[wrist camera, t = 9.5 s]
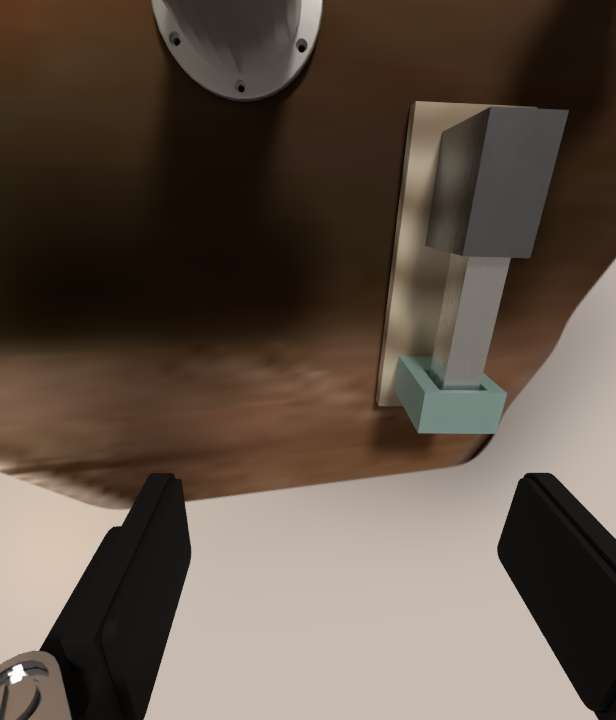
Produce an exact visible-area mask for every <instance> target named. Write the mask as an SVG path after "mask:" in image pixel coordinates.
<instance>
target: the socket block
mask: <svg viewBox="0 0 616 720" xmlns="http://www.w3.org/2000/svg"><path fill="white" fill-rule="evenodd" d="M432 359H433V356H399V360H398V367H397V375H396V382H395V389H394V390H395V392H396V394H397V396H398V398H399V400H400V401H401V403H402V405H403V407H404V409H405V410H406V412H407V414H408V416H409V418H410V420H411V421H412V423H413V425H414V427H415V429H416V431H417V432H418V433H463V434H496V432H497V429H498V425H499V421H500V418H501V414H502V410H503V407H504V403H505V400H506V396H507V393H506V392H505V391H504V390H502V389H501V388H500V387H499V386H498V385H497V384H496V383H494V382H493V381H492V380H491V379H490V378H489V377H487V376H486V375H485V374H484V373H483V375H482V379H481V383H480V388H479V391H475V390H439V389H438V388H437V386H436V385H435V384H434V383H433V381H432V380H431V379H430V378H429V375H430V370H431V364H432Z"/></svg>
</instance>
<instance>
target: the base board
mask: <svg viewBox="0 0 616 720" xmlns="http://www.w3.org/2000/svg"><path fill="white" fill-rule="evenodd" d="M491 106H492V107H513V108H535V109H537V107H525V106H504V105H483V104H462V103H441V102H420V101H416V102H415V103H414V104H412V105H411V106H410V115H409V123H408V131H407V140H406V148H405V157H404V165H403V174H402V182H401V191H400V199H399V208H398V216H397V224H396V233H395V241H394V250H393V258H392V267H391V275H390V284H389V292H388V301H387V309H386V317H385V326H384V334H383V343H382V351H381V360H380V368H379V377H378V385H377V394H376V401H377V403H378V406H403V405H402V403H401V401H400V400H399V398H398V396H397V394H396V392H395V390H394V389H395V382H396V375H397V367H398V360H399V356H433V353H434V347H435V342H436V336H437V331H438V325H439V319H440V314H441V308H442V303H443V297H444V291H445V286H446V280H447V275H448V269H449V263H450V258H451V253H449V252H446V251H442V250H439V249H435V248H432V247H428V246H425V244H426V237H427V230H428V224H429V217H430V210H431V204H432V197H433V191H434V184H435V177H436V171H437V164H438V157H439V151H440V144H441V137H442V132H443V131H445V130H447V129H449V128H451V127H453V126H454V125H456V124H458V123H460V122H462V121H464V120H466V119H468V118H470V117H472V116H474V115H476V114H478V113H479V112H481V111H483V110H485V109H487V108H489V107H491Z"/></svg>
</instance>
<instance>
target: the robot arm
mask: <svg viewBox="0 0 616 720" xmlns="http://www.w3.org/2000/svg"><path fill="white" fill-rule="evenodd" d="M151 2H152V7H153V12H154V15H155V18H156V21H157V24H158V27H159V30H160V33H161V35H162V37H163V39H164V41H165V43H166V45H167V47H168V49H169V51H170V52H171V53H172V55H173V56H174V58H175V59H176V61H177V62H178V63H179V65H180V66H181V67H182V68H183V69H184V71H185V72H186V73H187V74H188V75H189V76H190V77H191V78H192V79H193V80H194V81H196V82H197V83H198V84H199V85H200V86H201V87H203V88H204V89H206V90H208V91H210V92H211V93H213V94H215V95H217V96H220V97H223V98H226V99H229V100H233V101H243V102H248V101H256V100H262V99H264V98H267V97H270V96H273V95H275V94H276V93H278V92H279V91H281V90H283V89H284V88H286V87H287V86H288V85H289V84H290V83H291V82H292V81H293V80H294V79H295V78H296V77H297V76H298V75H299V74H300V72H301V71H302V69H303V68H304V66H305V65H306V63H307V62H308V60H309V58H310V56H311V53H312V51H313V49H314V47H315V44H316V41H317V37H318V33H319V29H320V25H321V18H322V12H323V0H151ZM177 40H180V41H181V43H180V44H179V45H178V46H176V45H175V42H176V41H177ZM299 47H304V49H305V51H304V52H303V53H300V52H299V51H298V49H299ZM241 86H243V87H244V88H245V90H244V92H242V93H241V92H239V87H241ZM497 551H498V556H499V559H500V561H501V563H502V565H503V566H504V568H505V570H506V571H507V573H508V575H509V577H510V578H511V580H512V582H513V584H514V585H515V587H516V589H517V590H518V592H519V594H520V595H521V597H522V599H523V601H524V602H525V604H526V606H527V608H528V609H529V611H530V613H531V614H532V616H533V618H534V620H535V621H536V623H537V625H538V626H539V628H540V630H541V632H542V633H543V635H544V637H545V638H546V640H547V642H548V644H549V645H550V647H551V649H552V651H553V652H554V654H555V656H556V657H557V659H558V661H559V662H560V664H561V666H562V668H563V669H564V671H565V673H566V674H567V676H568V678H569V680H570V681H571V683H572V685H573V687H574V688H575V690H576V692H577V693H578V695H579V697H580V698H581V700H582V701H583V703H584V704H585V705H586V707H587V708H588V709H590V710H592V711H594V713H595V715H596V716H597V718H598V720H616V539H615V538H614V537H613V536H612V535H611V534H610V533H609V532H608V531H607V530H606V529H605V528H604V527H603V526H602V525H601V524H600V523H599V521H597V519H596V518H595V517H594V516H593V515H592V514H591V513H590V512H589V511H588V510H587V509H586V508H585V507H584V506H583V505H582V504H581V503H580V502H579V501H578V500H577V499H576V498H575V497H574V496H573V495H572V494H571V493H570V492H569V491H568V490H567V488H565V486H563V484H562V483H561V482H560V481H559V480H558V479H557V478H556V477H555V476H554V475H552V474H550V473H527V474H525V475H524V477H523V478H522V479H520V480H519V482H518V485H517V488H516V491H515V494H514V497H513V500H512V503H511V507H510V510H509V512H508V516H507V519H506V522H505V525H504V528H503V531H502V534H501V537H500V541H499V543H498V547H497ZM190 559H191V545H190V538H189V531H188V523H187V516H186V509H185V502H184V494H183V487H182V481H181V479H175V476H174V474H172V473H152V474H150V475H149V477H148V478H147V480H146V482H145V484H144V486H143V487H142V489H141V491H140V493H139V495H138V497H137V498H136V500H135V502H134V504H133V506H132V508H131V510H130V511H129V514H128V515H127V517H126V519H125V521H124V522H123V524H122V526H119V527H113V528H111V529H110V530H109V531H108V533H107V534H106V535H105V537H104V539H103V541H102V542H101V544H100V546H99V547H98V549H97V551H96V553H95V554H94V556H93V558H92V560H91V561H90V563H89V565H88V567H87V568H86V570H85V572H84V574H83V575H82V577H81V579H80V581H79V582H78V584H77V586H76V587H75V589H74V591H73V593H72V594H71V596H70V598H69V600H68V601H67V603H66V605H65V606H64V608H63V610H62V612H61V614H60V615H59V617H58V619H57V620H56V622H55V624H54V626H53V627H52V629H51V631H50V632H49V634H48V636H47V638H46V639H45V641H44V643H43V645H42V646H41V648H40V650H39V651H31V652H27V653H23V654H19V655H17V656H15V657H13V658H11V659H9V660H7V661H5V662H3V663H2V664H1V665H0V720H143V719H144V717H145V714H146V711H147V708H148V704H149V701H150V697H151V693H152V691H153V687H154V684H155V680H156V677H157V674H158V670H159V667H160V663H161V660H162V656H163V653H164V650H165V646H166V643H167V639H168V636H169V632H170V629H171V626H172V622H173V619H174V616H175V612H176V609H177V606H178V602H179V599H180V595H181V592H182V589H183V585H184V582H185V578H186V575H187V571H188V568H189V564H190Z"/></svg>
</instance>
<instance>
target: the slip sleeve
mask: <svg viewBox="0 0 616 720" xmlns="http://www.w3.org/2000/svg"><path fill="white" fill-rule="evenodd" d="M568 112H569V110H556V109H535V108H513V107H492V106H491V107H489V108H487V109H485V110H483V111H481V112H479V113H478V114H476V115H474V116H472V117H470V118H468V119H466V120H464V121H462V122H460V123H458V124H456V125H454V126H453V127H451V128H449V129H447V130H445V131H443V132H442V137H441V144H440V151H439V157H438V164H437V171H436V177H435V184H434V191H433V197H432V204H431V210H430V217H429V224H428V230H427V237H426V244H425V246H428V247H432V248H435V249H439V250H442V251H446V252H449V253H453V254H456V255H460V256H471V257H506V258H530V257H531V253H532V250H533V246H534V242H535V238H536V234H537V230H538V227H539V223H540V219H541V215H542V211H543V208H544V204H545V200H546V196H547V192H548V188H549V185H550V181H551V177H552V173H553V169H554V166H555V162H556V158H557V154H558V150H559V146H560V143H561V139H562V135H563V131H564V127H565V124H566V120H567V116H568Z"/></svg>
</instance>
